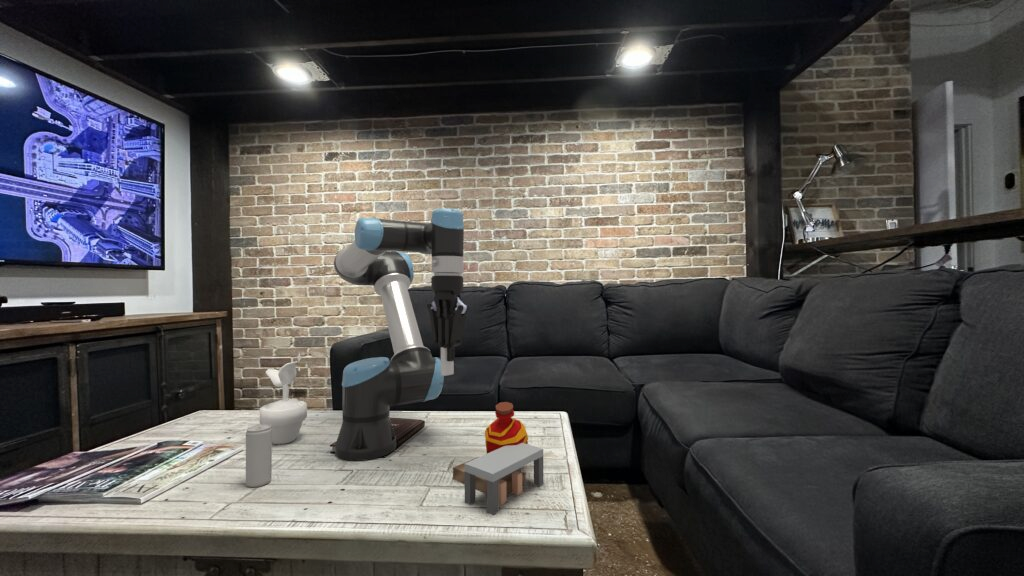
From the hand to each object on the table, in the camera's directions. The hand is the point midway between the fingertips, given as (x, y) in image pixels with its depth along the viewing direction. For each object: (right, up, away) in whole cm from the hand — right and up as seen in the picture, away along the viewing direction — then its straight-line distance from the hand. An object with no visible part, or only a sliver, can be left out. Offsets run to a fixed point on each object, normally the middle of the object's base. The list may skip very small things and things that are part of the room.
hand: (447, 374), depth 99 cm
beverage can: (-39, -22, -9) cm, 46 cm away
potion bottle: (+15, -21, -1) cm, 25 cm away
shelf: (+14, -21, -14) cm, 29 cm away
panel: (+10, -22, -9) cm, 26 cm away
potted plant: (-49, -22, +18) cm, 56 cm away
